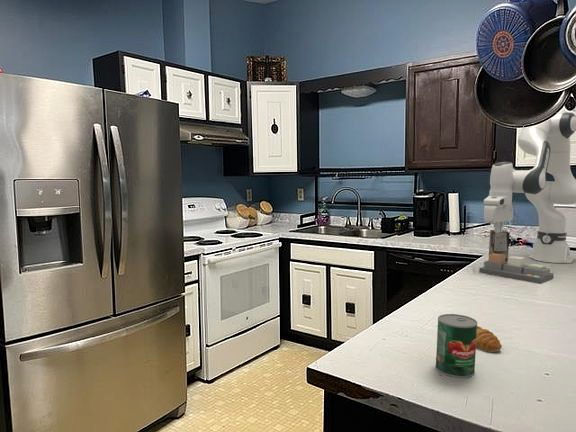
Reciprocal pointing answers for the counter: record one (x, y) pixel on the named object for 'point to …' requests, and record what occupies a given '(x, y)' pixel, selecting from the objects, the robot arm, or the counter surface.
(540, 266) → the key sage
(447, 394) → the counter surface
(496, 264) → the keypad base
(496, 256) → the key rust
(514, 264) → the key cream
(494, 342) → the pastry
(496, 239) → the coffee box
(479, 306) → the counter surface
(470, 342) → the canned tomato
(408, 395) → the counter surface
